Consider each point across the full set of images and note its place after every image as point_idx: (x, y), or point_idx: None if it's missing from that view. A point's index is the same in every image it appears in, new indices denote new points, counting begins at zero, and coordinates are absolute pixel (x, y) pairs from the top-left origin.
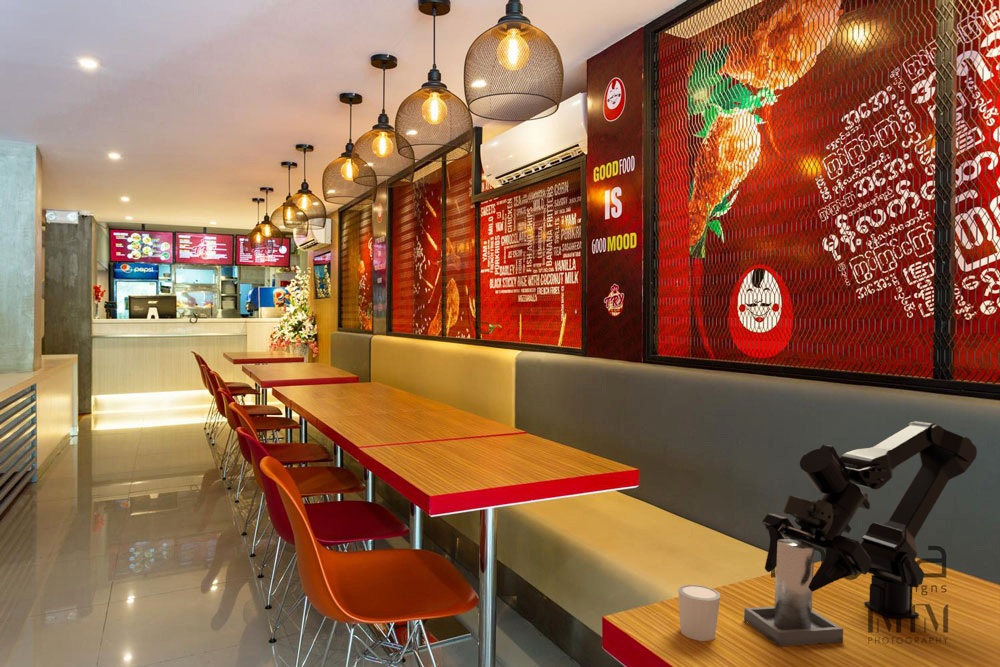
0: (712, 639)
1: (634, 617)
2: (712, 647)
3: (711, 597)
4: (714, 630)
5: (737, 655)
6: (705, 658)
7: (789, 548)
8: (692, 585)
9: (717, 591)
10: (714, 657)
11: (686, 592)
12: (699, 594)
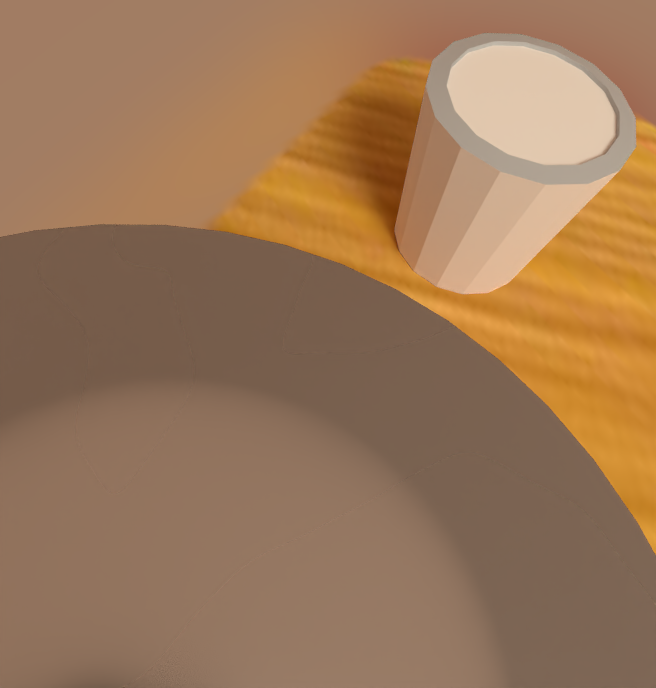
0: (396, 236)
1: (650, 181)
2: (354, 187)
3: (455, 90)
4: (402, 219)
5: (265, 198)
6: (318, 117)
7: (107, 241)
8: (615, 138)
9: (502, 171)
10: (305, 139)
11: (554, 65)
12: (511, 85)
